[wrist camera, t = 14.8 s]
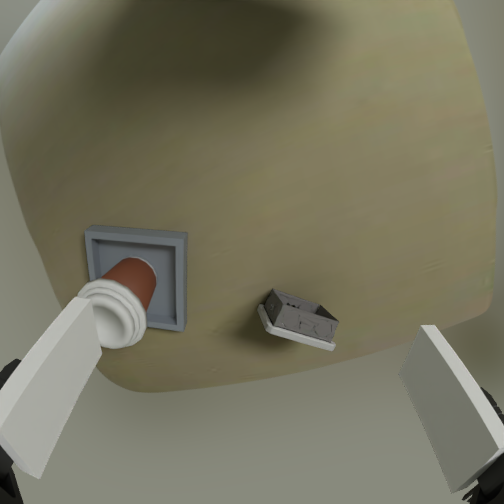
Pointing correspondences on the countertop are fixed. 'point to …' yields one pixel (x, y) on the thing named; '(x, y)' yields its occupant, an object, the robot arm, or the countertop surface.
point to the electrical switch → (298, 320)
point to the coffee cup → (122, 301)
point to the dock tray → (161, 258)
